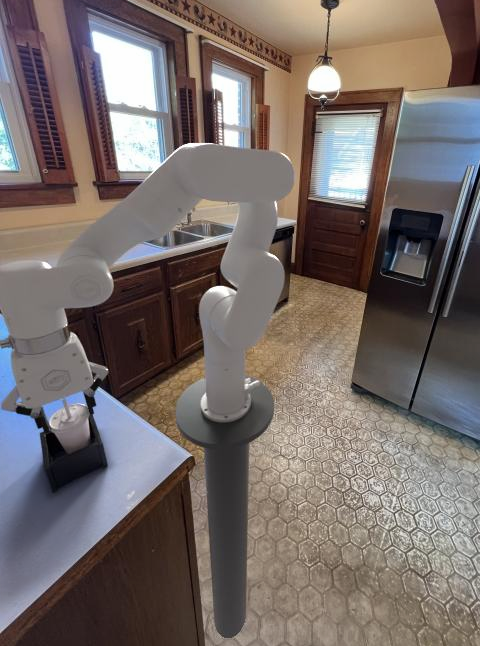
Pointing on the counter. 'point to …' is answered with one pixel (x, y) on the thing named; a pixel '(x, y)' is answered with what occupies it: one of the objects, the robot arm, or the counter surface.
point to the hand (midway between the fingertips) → (69, 418)
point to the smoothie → (71, 426)
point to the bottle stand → (71, 458)
